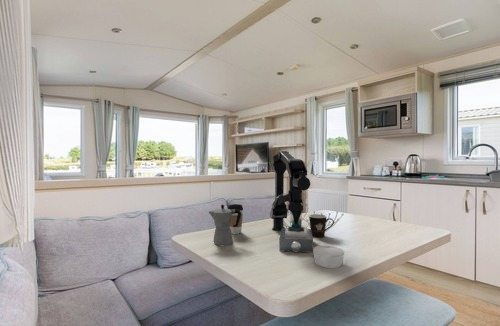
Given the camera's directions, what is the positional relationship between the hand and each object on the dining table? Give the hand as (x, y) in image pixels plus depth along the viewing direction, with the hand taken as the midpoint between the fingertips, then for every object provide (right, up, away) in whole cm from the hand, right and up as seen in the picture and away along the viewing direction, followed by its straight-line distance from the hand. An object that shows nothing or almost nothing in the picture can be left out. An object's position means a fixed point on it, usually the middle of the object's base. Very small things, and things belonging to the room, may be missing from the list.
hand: (295, 222), depth 122 cm
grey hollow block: (0, -11, -1) cm, 11 cm away
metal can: (0, -2, 0) cm, 2 cm away
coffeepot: (-32, -11, +6) cm, 35 cm away
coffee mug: (+15, -10, +14) cm, 23 cm away
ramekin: (+9, -11, -21) cm, 25 cm away
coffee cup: (-28, -11, +23) cm, 38 cm away
